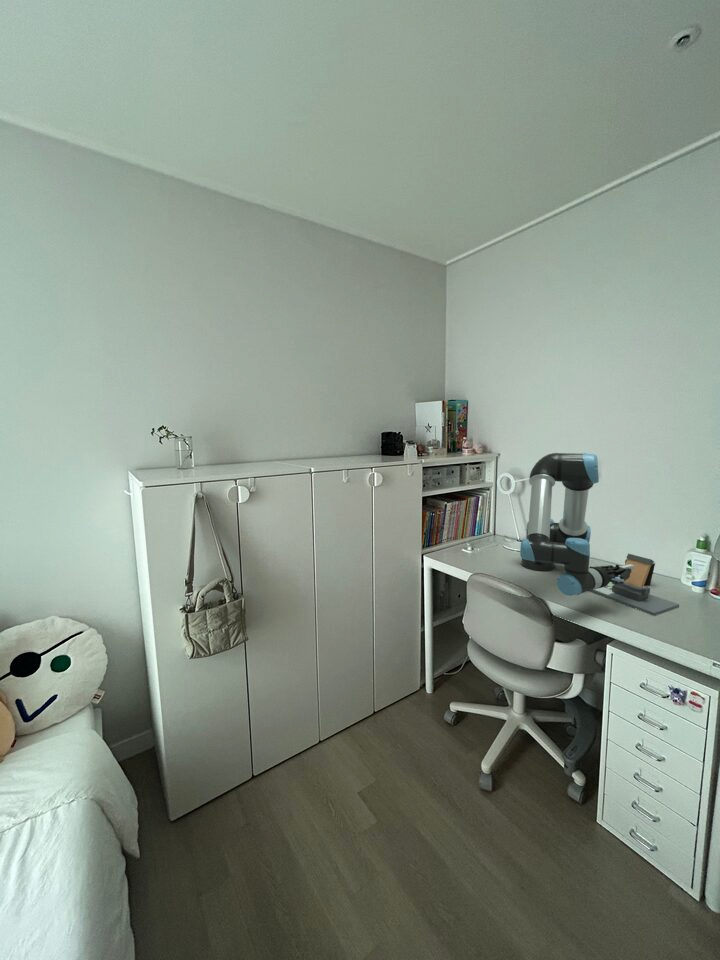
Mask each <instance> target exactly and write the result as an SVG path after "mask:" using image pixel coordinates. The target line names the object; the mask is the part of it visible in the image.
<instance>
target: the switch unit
mask: <svg viewBox="0 0 720 960" xmlns="http://www.w3.org/2000/svg"><path fill="white" fill-rule="evenodd" d="M589 592H590V593H593V594H595V595H598V596H600V595H601V597H603V596H604V598H606V599H608V598H609V600H611V599H612V601H614V600H615V602H616V601H618V602H617V603H619V602H620V603H619V604H622V603H623V604H622V605H624V604H625V606H627V605H628V606H627V607H630V606H631V607H630V608H632V607H634V608H633V609H635V608H637V609H636V610H638V609H639V610H638V611H640V610H642V611H641V612H643V611H645V612H644V613H646V612H647V613H646V614H648V613H650V614H649V615H651V614H652V615H651V616H654V615H655V616H658V615H661V614H663V613H666V612H668V611H671V610H674V609H677V608H680V604H679V603H677V602H674V601H671V600H667V599H664V598H662V597H659V596H656V595H653V594H651V587H649V586H644V587H643V588H642V591H639V590H636V589H633V588H630V587H627V586H624V585H621V584H618V583H617V581H615V582H610V583H609V584H608V585H607V586H605V587H602V588H598V589H594V590H591V591H589ZM660 613H661V614H660ZM657 614H658V615H657Z"/></svg>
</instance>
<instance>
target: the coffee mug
mask: <svg viewBox="0 0 720 960" xmlns="http://www.w3.org/2000/svg"><path fill="white" fill-rule="evenodd" d="M626 561H627V558H626V559H625V560H624V564H625V563H626ZM655 566H656V561H654V562H653V565H652V566H651V567H650V570H649V573H648V576H647V578H646V581H645V584H644V587H649V586H651V583H652V578H653V574H654V570H655Z"/></svg>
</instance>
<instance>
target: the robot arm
mask: <svg viewBox="0 0 720 960" xmlns="http://www.w3.org/2000/svg"><path fill="white" fill-rule="evenodd" d="M598 461H599V460H598V455H596V454H594V453H586V452H583V453H573V452H572V453H571V452H568V453H567V452H566V453H565V452H564V453H563V452H562V453H561V452H554V453H553V452H552V453H549V454H546V455H544V456H543V457H542V458H540V459H539V460H538V461H537V462H536V463H535V464H534V465H533V467H532V469H531V471H530V473H529V480H528V483H529V485H530V486H531V489H530V501H529V513H528V514H529V515H528V521H527V524H526V535H525V536H526V537H525V538H524V539H523V538H522V539H521V541H520V548H519V549H520V557H521V560H520V561H521V566H522V567H524V568H526V569H530V570H533V571H541V572H547V571H548V572H550V571H553V570H555V569H556V565H562V566H563V573H562V574H560V575H559V576H558V578H557V579H556V585H557V588H558V590H559V591H560V592H561V593H562V594H563V595H565V596H568V597H570V596H579V595H580V594H583V593H587V592H590V591H591V590H594V589H598V588H602V587H605V586H607V585H608V584H609V583H610V582H615V581H618V582H620V583H621V584H624V581H625V580H627V579H628V578H630V573H632V572H633V571H634V565H631V564H629V565H625V564H624V565H622V566H620V565H619V564H615V566H614V565H601V566H590V556H591V547H590V546H591V545H590V544H591V543H590V539H591V536H592V535H591V527H590V526H589V525H588V524H587V522H586V512H587V506H588V505H587V504H588V497H589V490H590V489H592V488H593V486H594V485H595V484H598V483H599V482H600V479H599V477H600V476H599V464H598V463H599V462H598ZM556 482H559V483H560V482H561V484H562V486H563V487H564V488H565V489H564V499H563V500H564V502H563V514H562V518H561V519H560V520H559V522H555V521H554V519H553V518H551V517H552V516H551V515H552V500H553V499H552V496H553V495H552V494H553V487H554V486H555V485H556Z"/></svg>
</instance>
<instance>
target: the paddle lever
mask: <svg viewBox="0 0 720 960" xmlns="http://www.w3.org/2000/svg"><path fill="white" fill-rule="evenodd" d="M626 559H627V561H626V563H625V562H624V566H625V565H629V564H631V565H634V571H633V572H632V573H630V578H628V579H627V580H625V581H624V584H621V583H620V582H618V581H617V583H618V584H621V585H624V586H627V587H630V588H633V589H636V590H639V591H642V588H645V586H644V584H645V581H646V578H647V576H648V573H649V570H650V567H651V566H652V565H653V562H655V560H653V559H652V558H651V559H650V558H648V557H645V556H644V557H643V556H639V555H635V554H632V553H627V556H626Z"/></svg>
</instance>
